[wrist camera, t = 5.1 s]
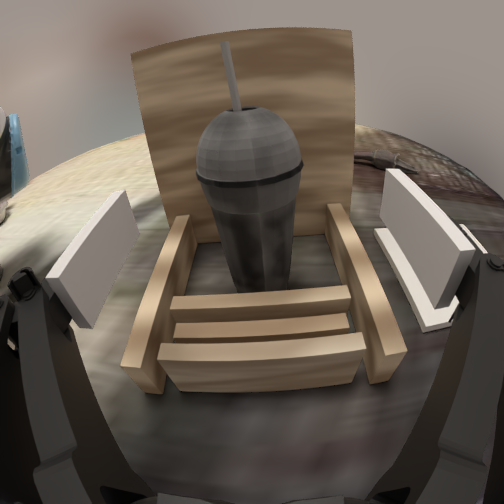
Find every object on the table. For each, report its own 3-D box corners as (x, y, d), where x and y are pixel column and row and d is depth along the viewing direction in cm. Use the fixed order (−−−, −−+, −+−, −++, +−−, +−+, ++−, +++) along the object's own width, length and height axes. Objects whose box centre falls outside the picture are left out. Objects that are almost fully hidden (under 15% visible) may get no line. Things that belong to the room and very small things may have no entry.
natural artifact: (416, 184, 44) (419, 172, 40) (307, 157, 54) (303, 145, 50) (419, 168, 44) (422, 155, 41) (313, 143, 54) (309, 131, 51)
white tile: (518, 304, 18) (521, 299, 17) (422, 332, 19) (425, 326, 18) (461, 229, 29) (463, 224, 28) (373, 234, 30) (374, 228, 29)
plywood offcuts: (351, 382, 17) (366, 348, 14) (179, 390, 17) (157, 359, 15) (338, 325, 21) (347, 285, 18) (189, 334, 22) (173, 296, 19)
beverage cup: (313, 272, 26) (311, 40, 14) (283, 330, 21) (263, 27, 9) (246, 255, 29) (219, 50, 17) (206, 303, 24) (148, 55, 12)
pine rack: (403, 376, 16) (502, 8, 3) (130, 390, 17) (-31, 75, 4) (336, 209, 35) (335, 36, 22) (184, 220, 36) (150, 54, 23)
